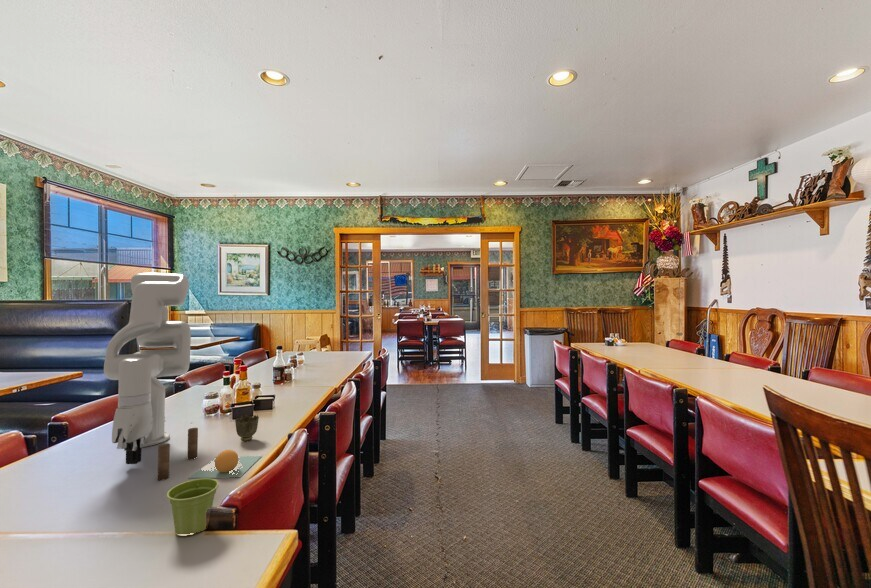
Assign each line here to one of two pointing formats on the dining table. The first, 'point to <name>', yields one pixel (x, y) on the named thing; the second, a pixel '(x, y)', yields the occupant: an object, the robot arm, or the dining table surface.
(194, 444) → the post
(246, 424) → the cup
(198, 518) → the plant pot
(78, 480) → the dining table surface
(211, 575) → the dining table surface
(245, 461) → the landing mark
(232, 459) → the ball
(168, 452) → the post
